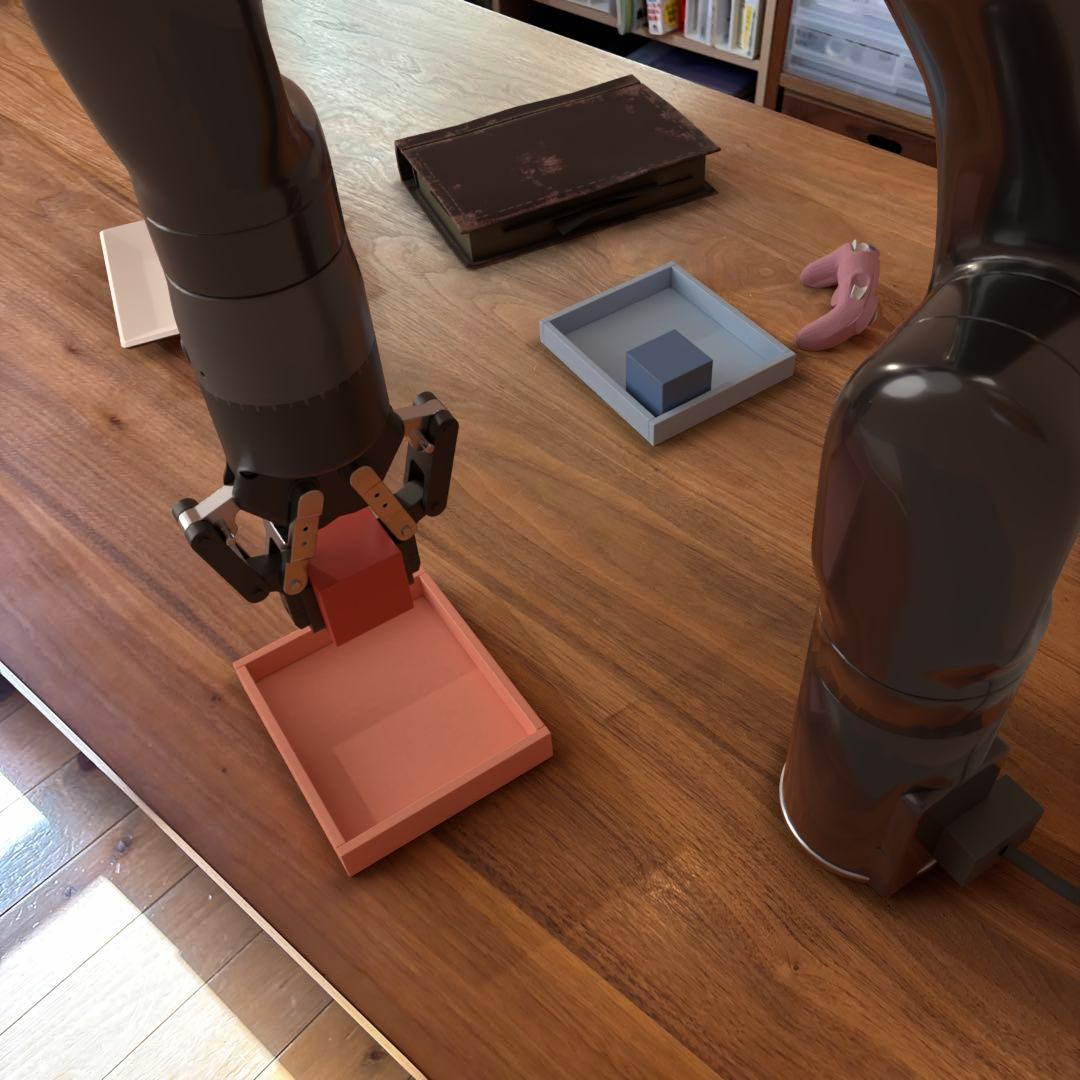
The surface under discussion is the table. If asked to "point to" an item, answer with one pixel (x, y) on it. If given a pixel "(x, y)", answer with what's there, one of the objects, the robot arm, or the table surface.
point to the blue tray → (648, 312)
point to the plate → (137, 286)
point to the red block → (358, 576)
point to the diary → (554, 170)
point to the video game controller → (842, 295)
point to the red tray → (393, 724)
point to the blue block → (667, 372)
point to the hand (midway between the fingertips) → (357, 596)
